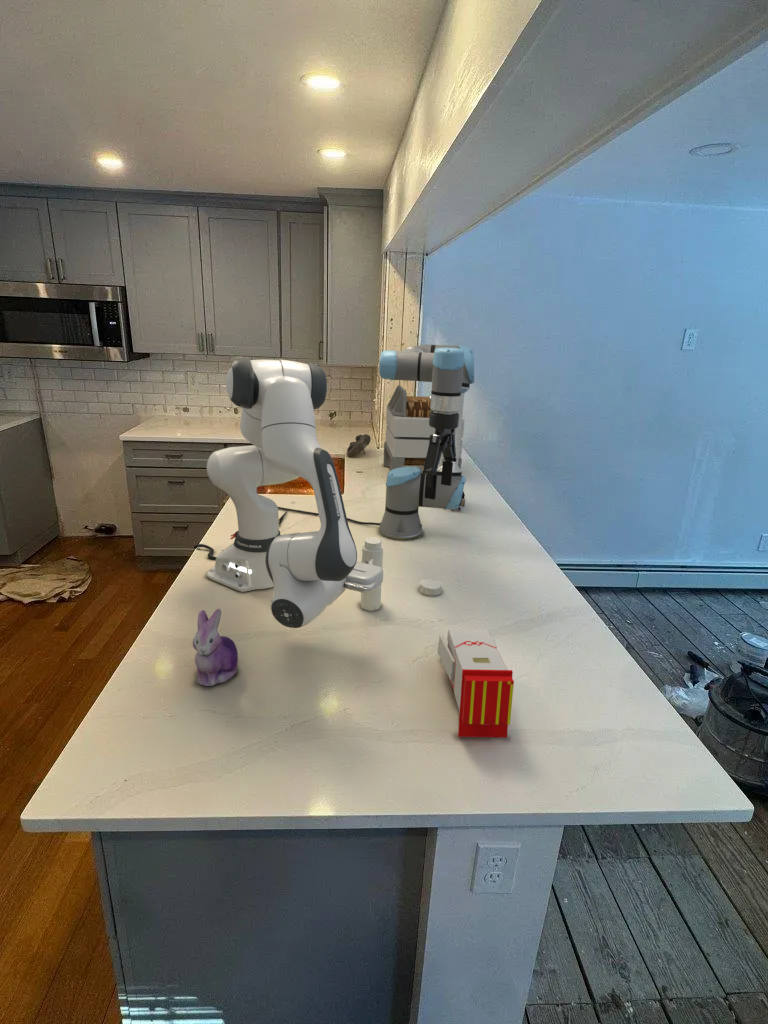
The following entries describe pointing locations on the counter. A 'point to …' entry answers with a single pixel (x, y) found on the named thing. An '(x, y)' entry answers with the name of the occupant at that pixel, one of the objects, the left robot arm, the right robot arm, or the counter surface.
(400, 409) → the stacking storage bins
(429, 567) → the counter surface
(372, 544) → the bottle
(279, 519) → the feather
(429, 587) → the lid
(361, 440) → the fossil
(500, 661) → the toy
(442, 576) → the counter surface
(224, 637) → the figurine
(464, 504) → the figurine character
